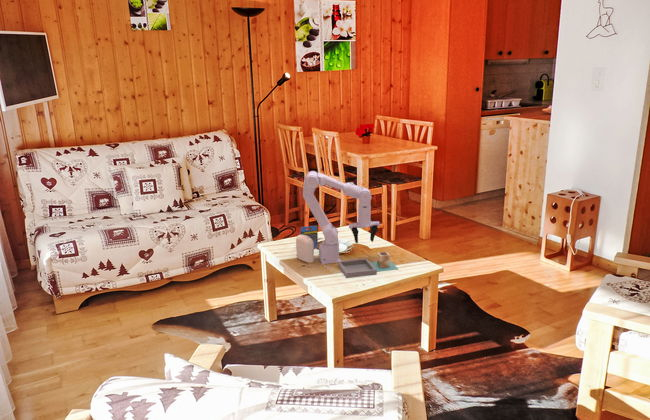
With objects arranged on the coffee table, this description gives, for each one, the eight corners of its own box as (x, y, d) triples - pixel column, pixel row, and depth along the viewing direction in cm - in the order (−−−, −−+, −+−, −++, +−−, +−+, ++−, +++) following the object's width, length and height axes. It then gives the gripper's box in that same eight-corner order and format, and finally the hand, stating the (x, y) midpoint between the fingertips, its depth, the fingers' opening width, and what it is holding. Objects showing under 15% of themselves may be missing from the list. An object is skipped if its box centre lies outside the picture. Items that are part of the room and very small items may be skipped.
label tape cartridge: (316, 245, 265) (315, 223, 261) (318, 248, 261) (317, 225, 258) (299, 247, 262) (298, 224, 259) (301, 250, 259) (300, 227, 255)
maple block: (380, 268, 235) (380, 255, 233) (377, 264, 239) (377, 252, 237) (389, 267, 236) (389, 255, 234) (386, 263, 240) (386, 251, 238)
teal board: (375, 272, 231) (375, 271, 231) (367, 263, 241) (367, 262, 241) (398, 270, 234) (398, 269, 234) (389, 261, 244) (389, 260, 244)
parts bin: (346, 278, 225) (346, 273, 225) (338, 266, 238) (337, 261, 238) (376, 275, 229) (376, 269, 228) (366, 263, 242) (366, 258, 241)
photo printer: (295, 257, 249) (294, 233, 246) (302, 255, 252) (301, 232, 248) (308, 264, 241) (307, 239, 238) (315, 261, 244) (314, 237, 240)
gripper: (352, 218, 233) (351, 246, 237) (382, 215, 237) (381, 243, 241) (347, 213, 240) (347, 240, 244) (377, 211, 243) (376, 238, 247)
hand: (364, 241), depth 243 cm, fingers open, 7 cm apart
